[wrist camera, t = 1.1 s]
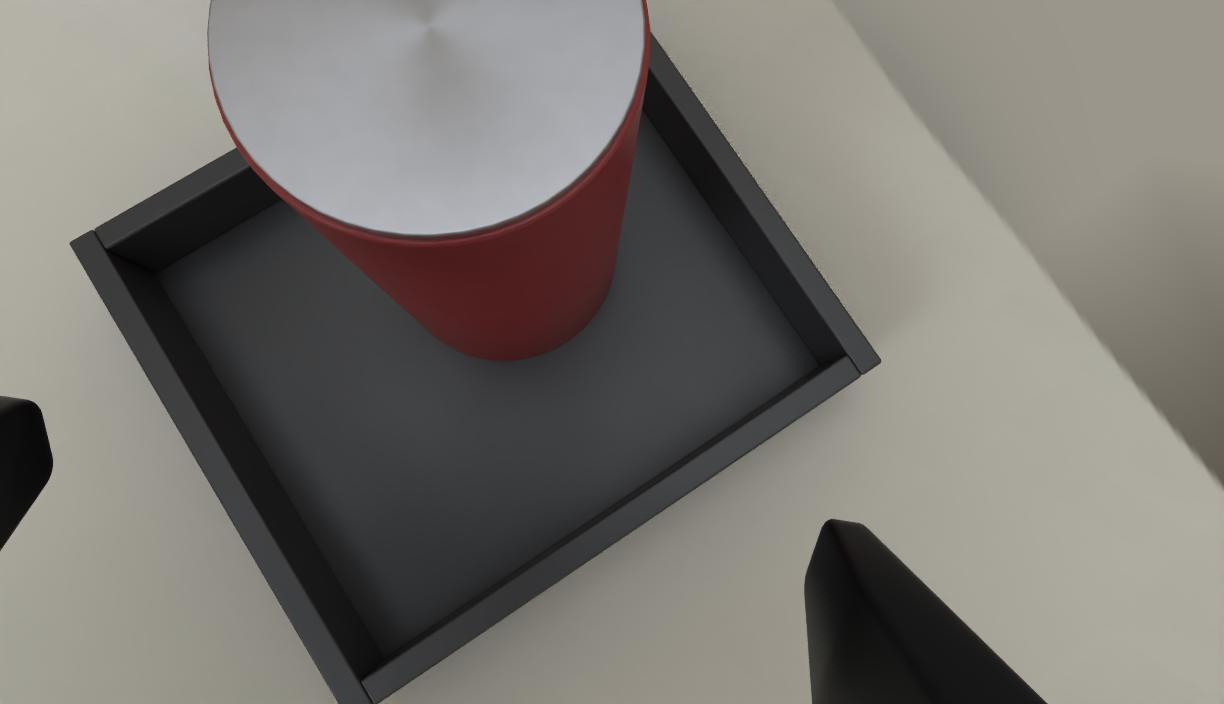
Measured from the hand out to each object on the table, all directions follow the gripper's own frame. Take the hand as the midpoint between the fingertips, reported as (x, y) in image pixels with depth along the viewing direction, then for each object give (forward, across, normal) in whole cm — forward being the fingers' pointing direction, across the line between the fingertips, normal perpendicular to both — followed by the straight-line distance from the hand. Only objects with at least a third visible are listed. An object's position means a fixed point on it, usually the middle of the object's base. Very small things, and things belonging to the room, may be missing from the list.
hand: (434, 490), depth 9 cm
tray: (+14, +2, +5) cm, 15 cm away
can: (+15, +2, +3) cm, 15 cm away
